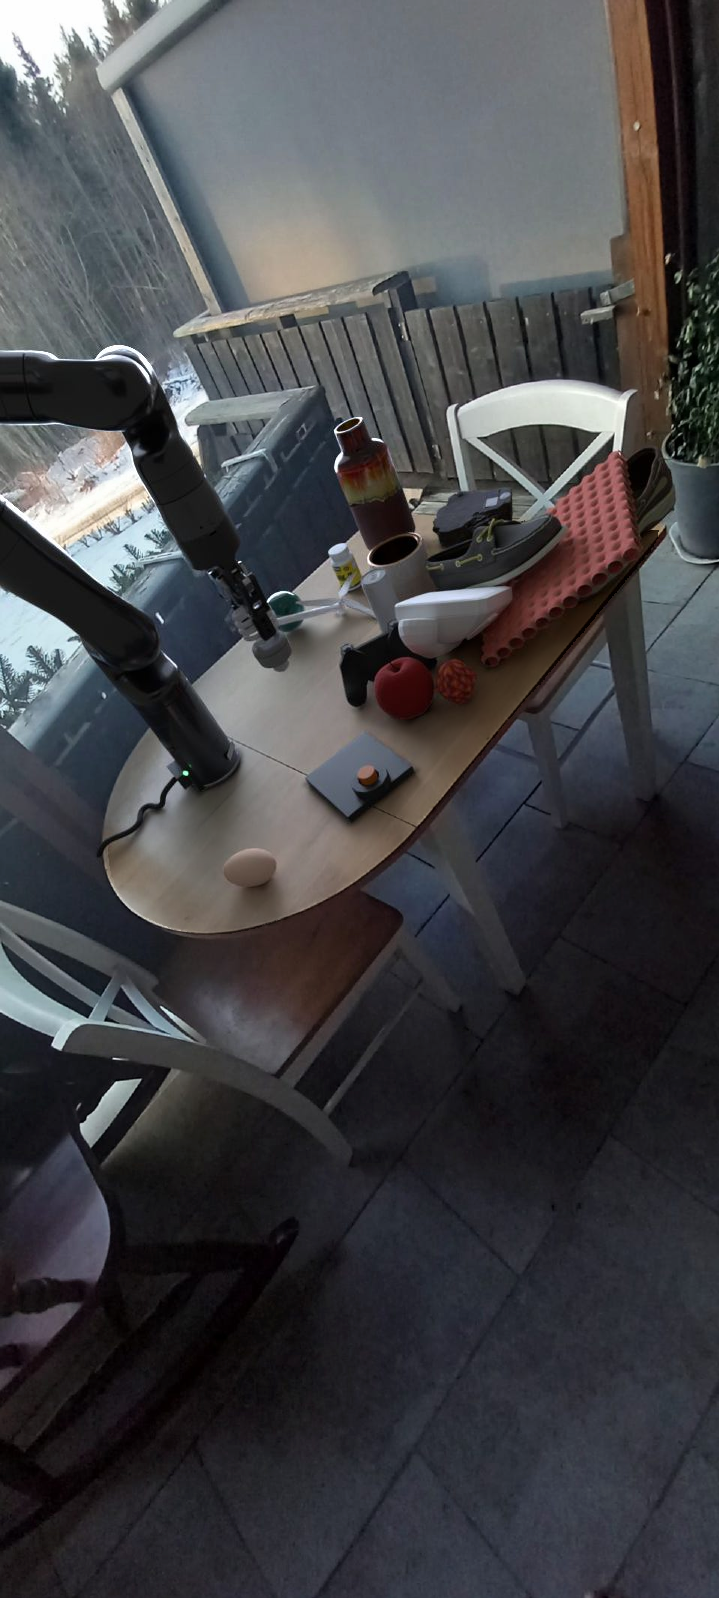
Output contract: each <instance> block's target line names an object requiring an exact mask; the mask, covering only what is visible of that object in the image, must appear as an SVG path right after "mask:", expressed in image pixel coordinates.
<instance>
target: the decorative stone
mask: <svg viewBox="0 0 719 1598" xmlns="http://www.w3.org/2000/svg"><path fill="white" fill-rule="evenodd" d="M478 675H479V674H478V673H477V672H475V670H473V669H472V668H471V667H470V666H468V665H467V664H466V663H465V662H463V661H461V660H459V659H456V658H454V659H449V660H448V661H445V662H442V663H441V666H440V667H439V669H438V671H437V675H436V680H435V684H434V686H435V689H434V692H436V693H438V694H439V695H441V697H443V698H444V699H446V700H447V701H449V702H450V703H452V704H454V705H456V706H458V705H461V704H464V703H466V702H469V701H470V700H471V698H472V696H473V695H474V690H475V687H476V682H477V679H478Z"/></svg>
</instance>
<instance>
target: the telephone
mask: <svg viewBox="0 0 719 1598" xmlns="http://www.w3.org/2000/svg"><path fill="white" fill-rule="evenodd" d="M511 600H513V597H512V587H508V586H498V587H483V588H473V589H462V590H452V591H441V592H435V591H434V592H431V593H426V594H422V595H419V596H416V597H413V598H410V599H408V600H405V601H402V602H400V603H398V604H396V605H395V614H396V619H398V622H399V626H398V629H399V635H400V638H401V639H402V641H403V643H404V644H405V645H406V646H407V647H408V648H409V649H410V650H411V651H412V652H414V653H416V654H419V655H421V656H423V657H426V658H435V657H437V658H438V657H441V656H444V655H446V654H448V653H450V652H451V651H453V650H454V649H455V648H457V647H459V646H460V645H461V644H462V642H463V641H464V639H466V640H467V641H468V640H471V639H473V638H475V637H476V636H477V635H479V634H480V633H481V632H482V631H484V629H485V628H486V627H487V626H488V625H490V624H491V623H492V622H493V621H494V620H495V619H496V618H497V617H498V615H499V614H500V613H501V612H502V611H503V610H504V609H505V608H506V607H507V606H508V605H509V604H510V603H511V602H512V601H511Z"/></svg>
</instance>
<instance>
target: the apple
mask: <svg viewBox="0 0 719 1598" xmlns="http://www.w3.org/2000/svg"><path fill="white" fill-rule="evenodd" d="M386 661H387V662H389V663H388V664H387V665H385V666H384V667H383V668H381V669H380V670H379V672H378V673H377V675H376V677H375V681H374V682H373V694H374V698H375V701H376V703H377V704H378V706H379V708H380V709H381V710H382V711H383V712H384V713H385V714H387V715H389V716H390V717H393V718H396V719H401V720H409V719H413V718H415V717H418V716H420V715H422V714H424V713H425V712H426V711H428V709H429V707H430V706H431V704H432V702H433V700H434V696H435V681H434V678H433V676H432V674H431V672H430V671H429V670H428V669H427V667H426V666H425V665H424V664H423V663H422V662H420V661H419V660H416V659H413V658H410V657H403V658H399V659H396V660H394V661H392V662H390V661H389V658H387V659H386Z"/></svg>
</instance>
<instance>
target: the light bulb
mask: <svg viewBox="0 0 719 1598" xmlns="http://www.w3.org/2000/svg"><path fill="white" fill-rule="evenodd" d="M257 605H258V604H257V603H255V604H254V605H253V607H256V606H257ZM269 606H270V605H269ZM270 609H271V610H270V611H268V612H266V613H267V615H268V616H269V618H270V620H271V622H272V624H273V625H274V627H275V629H276V634H275V635H274V636H273V637H271V638H270V639H269V640H267V641H264V640H263V639H262V638H261V637H260V635H259V633H258V632H257V630H256V628H255V626H254V625H253V623H252V621H251V619H248V620H246V621H245V622H243V623H241V622H242V621H243V620H244V619H245V618H247V617H248V615H247V614H246V612H245V611H244V609H243V608H242V607H239V608H238V609H236V610H235V611H234V610H233V612H232V614H231V619H232V620H233V622H234V625H235V627H236V628H237V629H238V633H239V634H240V635H241V636H242V638H243V640H244V641H245V642H254V641H255V642H254V643H253V644H252V645H251V652H252V654H253V657H254V658H255V659H256V661H257V662H258V663H259V665H260V666H261V667H262V668H264V669H273V671H274V672H277V673H281V672H282V673H283V672H285V671H287V670H288V668H289V666H290V661H289V659H290V657H291V655H292V653H293V647H292V646H291V643H290V641H289V639H288V637H287V635H286V633H284V632H281V631H278V630H277V629H278V625H279V623H278V619H277V618H276V615H275V612H274V611H273V610H272V608H271V606H270ZM246 627H248V628H246ZM256 632H257V633H256Z"/></svg>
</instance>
